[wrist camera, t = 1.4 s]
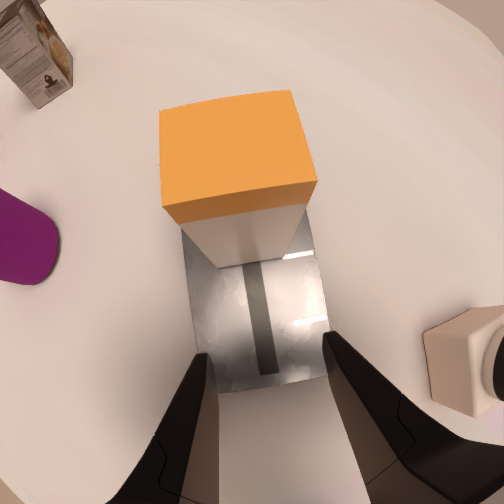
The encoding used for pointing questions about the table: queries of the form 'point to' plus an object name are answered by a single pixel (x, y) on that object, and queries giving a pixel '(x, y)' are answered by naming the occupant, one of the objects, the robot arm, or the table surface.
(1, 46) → the coffee box
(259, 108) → the fader knob
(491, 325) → the medicine bottle
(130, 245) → the table surface
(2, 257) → the beverage can
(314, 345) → the board
